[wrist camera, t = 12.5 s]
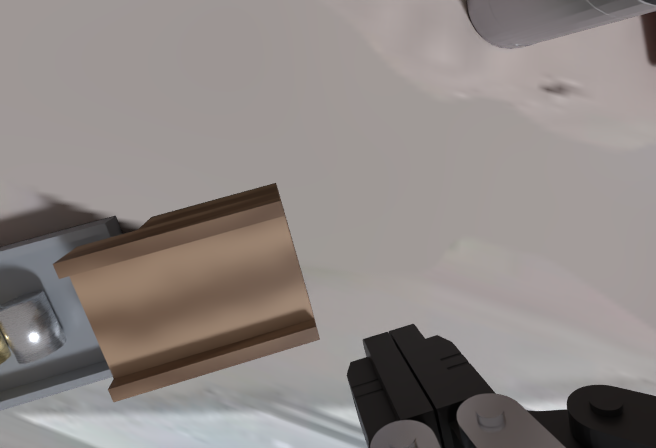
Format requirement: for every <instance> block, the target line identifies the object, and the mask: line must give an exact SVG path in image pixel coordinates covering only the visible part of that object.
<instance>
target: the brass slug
mask: <svg viewBox="0 0 656 448" xmlns="http://www.w3.org/2000/svg"><path fill="white" fill-rule="evenodd" d="M10 356H11V352H10V350H9V348H8V346H7V344H6V342H5V340H4V338H3V336H2V334H1V332H0V364H2V363H3V362H5V361H6V360H7V359H8V358H9V357H10Z"/></svg>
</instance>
